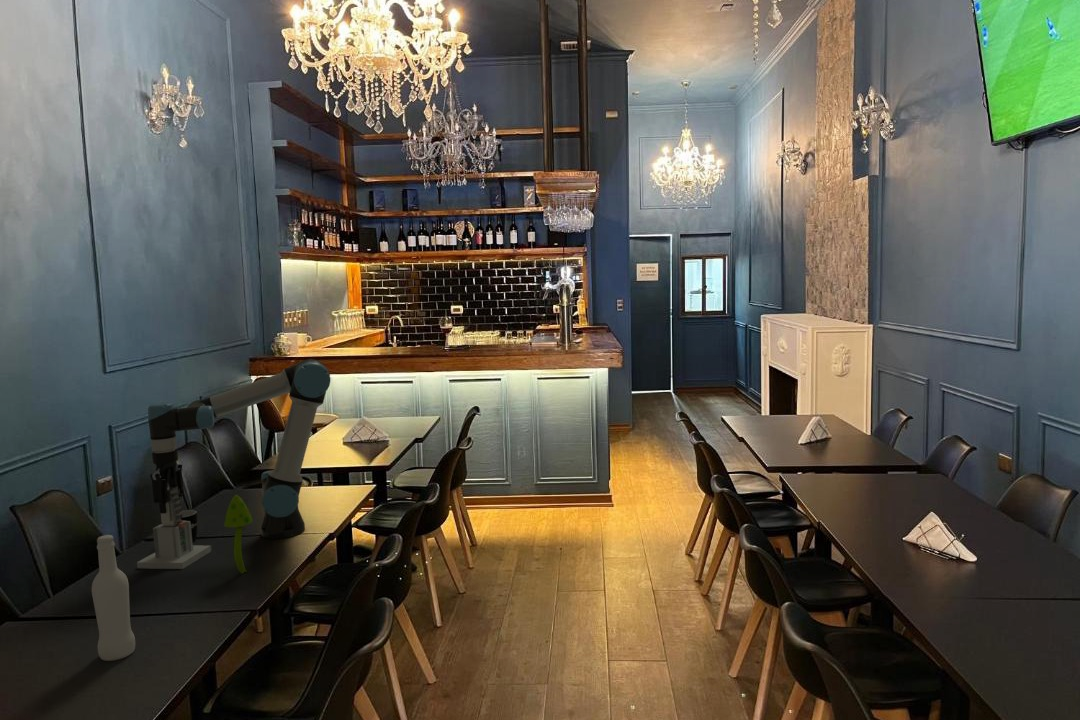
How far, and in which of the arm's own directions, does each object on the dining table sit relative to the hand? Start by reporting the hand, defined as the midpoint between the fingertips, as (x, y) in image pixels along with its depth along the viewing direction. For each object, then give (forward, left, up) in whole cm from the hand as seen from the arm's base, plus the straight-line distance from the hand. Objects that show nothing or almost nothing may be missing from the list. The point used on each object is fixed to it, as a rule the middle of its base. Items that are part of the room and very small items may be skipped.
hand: (171, 519), depth 255 cm
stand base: (0, 0, -14) cm, 14 cm away
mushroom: (-30, +10, -14) cm, 35 cm away
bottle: (-27, +63, -14) cm, 70 cm away
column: (0, 0, -12) cm, 12 cm away
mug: (+8, -19, -14) cm, 25 cm away
